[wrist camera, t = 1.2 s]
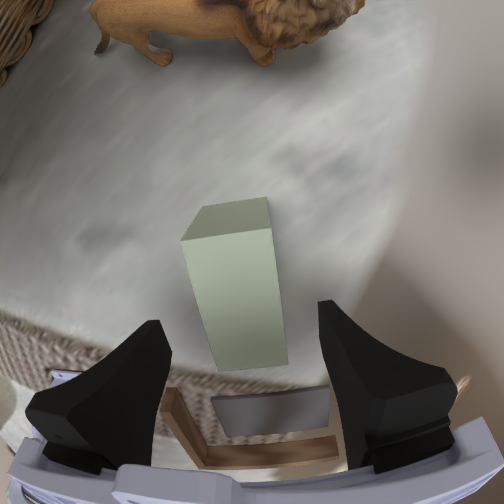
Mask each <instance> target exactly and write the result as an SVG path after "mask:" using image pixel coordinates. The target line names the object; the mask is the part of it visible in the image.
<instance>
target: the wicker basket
mask: <svg viewBox="0 0 504 504" xmlns="http://www.w3.org/2000/svg"><path fill="white" fill-rule="evenodd" d="M53 2H54V0H0V87H1V86H2V85H3V84H4V82H5V81H6V78H7V71H6V69H5V67H6V66H9V65H12V64H14V63H15V62H17V61H18V60H19V59H20V58H21V57H22V56H23V55H24V54H25V53H26V51H27V50H28V48H29V46H30V44H31V41H32V33H31V31H30V29H29V28H30V27H31V26H32V25H35V24H38V23H39V22H41V21H42V20H43V19H44V18H45V17H46V16H47V15H48V13H49V12H50V10H51V8H52V6H53ZM25 37H26V38H25Z"/></svg>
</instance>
